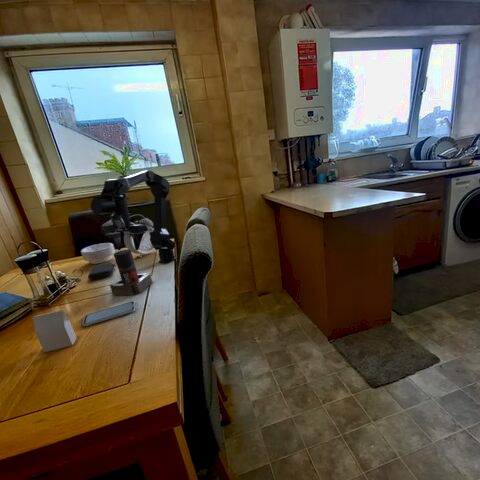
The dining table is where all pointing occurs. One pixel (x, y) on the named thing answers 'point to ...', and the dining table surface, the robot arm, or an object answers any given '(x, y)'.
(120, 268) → the deodorant
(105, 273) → the carrying case
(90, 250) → the paper bowls
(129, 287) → the holder
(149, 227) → the alarm clock
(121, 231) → the robot arm
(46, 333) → the white angled block
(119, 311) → the smartphone
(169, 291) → the dining table surface
